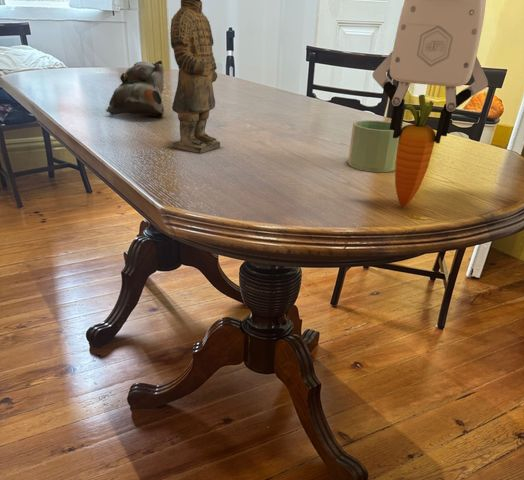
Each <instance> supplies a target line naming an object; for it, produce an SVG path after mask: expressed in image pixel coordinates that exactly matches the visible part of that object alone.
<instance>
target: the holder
mask: <svg viewBox="0 0 524 480" xmlns="http://www.w3.org/2000/svg"><path fill="white" fill-rule="evenodd" d="M390 124H391V121H383V120H373V119H372V120H371V119H370V120H357V121H354V122H353V123H352V128H351V129H352V130H351V136H350V137H351V138H350V144H349V152H348V159H347V160H348V162H347V163H348V164H347V165H348V166H350V167H351V168H353V169H355V170H360V171H364V172H371V173H390V172H395V162H396V154H397V147H398V141H399V137H398V138H393V133H394V130H390ZM403 127H404V126H403V125H402V128H403ZM402 128H401V129H402Z"/></svg>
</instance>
